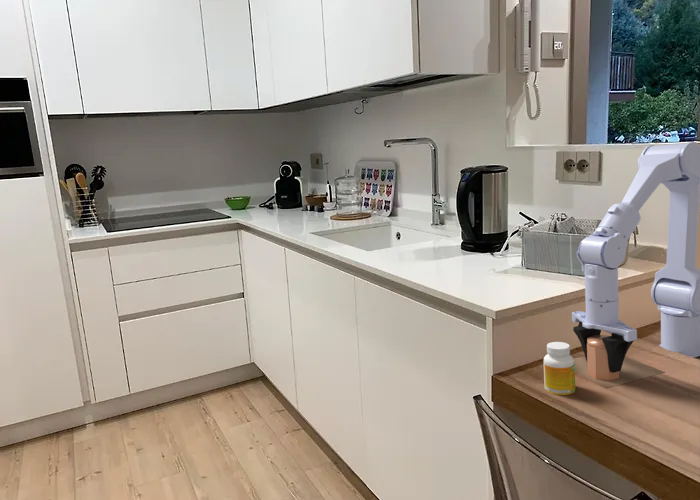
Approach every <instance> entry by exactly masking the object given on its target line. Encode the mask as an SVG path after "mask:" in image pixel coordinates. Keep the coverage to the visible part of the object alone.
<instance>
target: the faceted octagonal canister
mask: <svg viewBox="0 0 700 500" xmlns="http://www.w3.org/2000/svg"><path fill="white" fill-rule="evenodd" d="M608 336H609V335H607V334H606V335H604V334H600V335H594V336H590V337H588V338H587V367H588V375H589V376H591V377H593V378H595V379H600V380H613V379H617V378H619V371H618V372H614V373H612V372H610V370H609V366H608V355H607V351H606V348H605V345H604V343H603V341H602V338H604V337H608Z"/></svg>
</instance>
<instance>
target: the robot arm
mask: <svg viewBox="0 0 700 500" xmlns="http://www.w3.org/2000/svg"><path fill="white" fill-rule="evenodd" d="M637 168H638V169H637V170H638V171H637V172H636V174H635V176H634V178H633V180H632V182H631V184H630V185H629V187H628V188H627V191H626V193H625V195H624V197H623V199H622V201H620V202H619V203H614V204H612V205H611V206H610V207H609V208H608V210H607V212H606V213H605V215H604V217H603V218H602V219H601V222H599V224H598V226H597V227H596V229H595V230H594V232H593V233H592V235H591V234H590V235H588V236H586V237H585V238H583V239H582V240H581V241H580V243H579V244H578V250H577V251H576V257H577V260H578V261H579V263H580V264H581V272H582V274H584V297H585V299H584V300H585V311H582V310H578V311H572V312H571V321H572V322H573V323H578V325H577V326H573V332H574V334H575V335H576V336H577V338H578V340H579V343H580V345H581V348H582V350H583V351H582V352H583V353H584V354H583V355H584V356H585V358H586V361H587V338H588V337H590V336H594V335H601V332H605V333H608V334H610V335H607V336H608V337H604V338H602V341H603V343H604V345H605V348H606V351H607V355H608V366H609V370H610V372H612V373H614V372H618V371H621V368H622V364H623V361H624V358H625V356H627V352H628V350H629V349H630V347H631V346H632V344H633V343H634V341H637V340H638V329H635V328H633V327H632V326H629V325H628V324H626V323H625V322H623V321H622V320H620V313H619V312H620V309H619V308H620V307H619V303H620V302H619V301H620V300H619V266H621V264H622V263H623V262H624V261H625V258H626V253H627V248H628V246H629V245H628V244H629V243H628V241H629V239H630V237H631V235H632V234H633V233H634V231H635V229H637V226H638V225H639V224H640V222H641V219H642V218H641V214H640V210H641V209H642V207H643V206H644V204H645V203H646V202H647V201H648V200H649V198H650V197H651V196H652V194H654V192H655V191H656V189H657V188H658V187H659V186H660V184H661V185H662V184H663V186H664V187H666V189H667V190H668V191H669V201H668V202H669V207H668V222H667V223H668V224H667V225H668V227H667V247H666V263H665V264H666V265H665V266H663V267H661V269H659V270H657V271H656V272H655V274H654V280H653V284H652V286H651V289H650V297H651V299H652V302H653V304H655V305H656V306H657V310H658V311H660V344H658V346H659V347H661V348H662V349H665V350H667V351H669V352H673V353H679V354H681V355H684V356H685V355H686V356H688V357H690V358H693V359H694V358H699V357H700V268H699V267H698V266H697V254H698V253H697V252H698V235H699V234H698V233H699V220H700V219H699V218H700V217H699V216H700V144H699V143H697V142H696V141H691V142H684V143H672V144H671V143H670V144H669V143H668V144H659V145H655V144H650V145H647V146H645V148H643V150H642V152H641V154H640V155H639V157H638V158H637Z"/></svg>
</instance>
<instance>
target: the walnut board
mask: <svg viewBox="0 0 700 500" xmlns="http://www.w3.org/2000/svg"><path fill="white" fill-rule="evenodd" d="M573 358H574V357H573ZM574 362H575V375H579V376H580V377H582V378H584V379H586V380H587V381H588V380H589V381H590V382H593V383H595V384H597V385H599V386H600V387H603V388H604V389H609V388H613V387H617V386H620V385H624V384H627V383H631V382H635V381H638V380H642V379H646V378H650V377H653V376H657V375H661V374H665V373H666V371H664V370H661V369H658V368H656V367H654V366H651V365H649V364H646V363H643V362H641V361H638V360H636V359H634V358H631V357H628V356H627V355H625V358H624V361H623V364H622V368H621V371H619V378H617V379H613V380H600V379H595V378H593V377H591V376H589V375H588V367H587V361H586V358H585V355H583V356H579V357H576V358H574Z"/></svg>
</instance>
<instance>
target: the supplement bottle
mask: <svg viewBox="0 0 700 500" xmlns="http://www.w3.org/2000/svg"><path fill="white" fill-rule="evenodd" d="M546 353H547V354H546V355H545V356H544V357H543V381H544V383H543V384H544V390H545V391H546V392H548V393H549V394H552V395H558V396H566V395H572V394H574V393H575V392H576V373H575V362H574V357H573V355H571V346H570V344H568V343H566V342H565V341H564V342H562V341H553V342H548V343H547V344H546Z"/></svg>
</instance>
